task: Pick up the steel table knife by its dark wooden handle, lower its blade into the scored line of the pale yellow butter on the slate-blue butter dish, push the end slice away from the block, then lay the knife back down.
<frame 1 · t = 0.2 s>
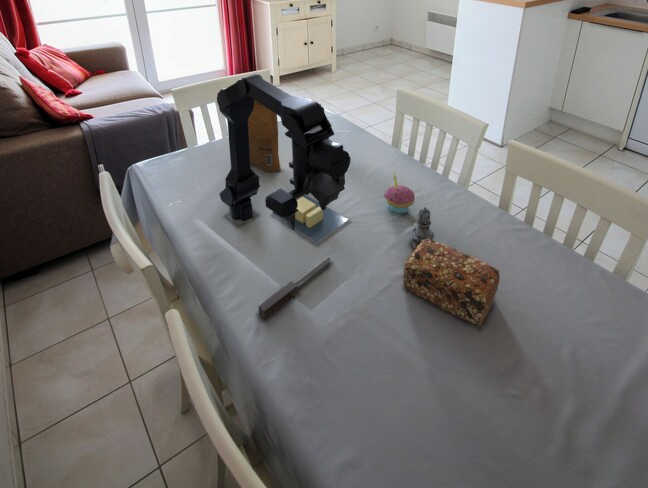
hand: (308, 219, 97), 14 cm above the table, tool pointing down, fingers open, 9 cm apart
bread: (448, 294, 96), on the table
butter dish: (309, 218, 119), on the table
grey figurine: (421, 246, 110), on the table
knife: (278, 304, 93), on the table
butter slice: (314, 222, 116), point 1 cm above the table, touching butter dish
cupcake: (398, 210, 124), on the table
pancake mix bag: (260, 165, 144), on the table
butter block: (299, 212, 120), resting on butter dish
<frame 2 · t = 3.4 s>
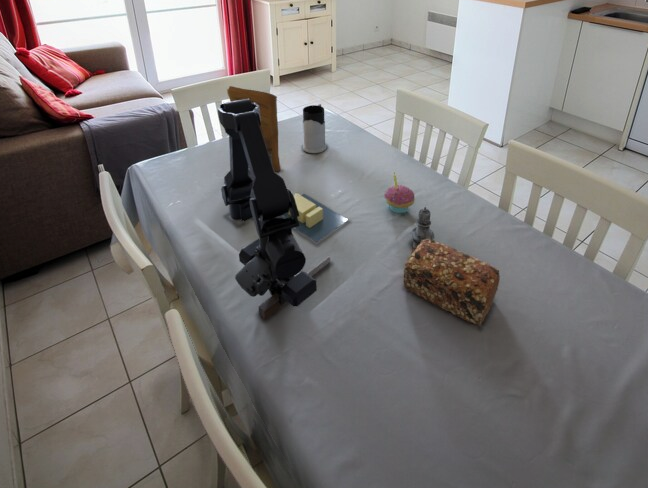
hand: (278, 299, 92), 1 cm above the table, tool pointing down, fingers closed on knife, 2 cm apart
knife: (278, 304, 93), on the table, touching gripper
everything else where it was.
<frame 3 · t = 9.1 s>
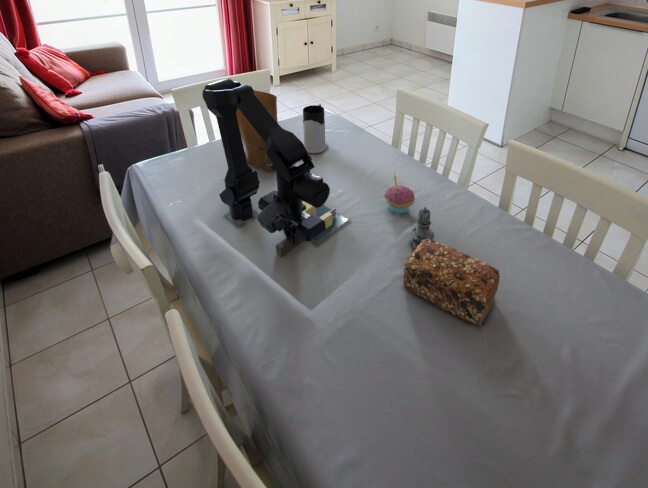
hand: (292, 241, 107), 2 cm above the table, tool pointing down, fingers closed on knife, 2 cm apart
knife: (292, 245, 108), point 1 cm above the table, touching butter slice, gripper
butter slice: (323, 227, 114), point 1 cm above the table, touching butter dish, knife
everything else where it was.
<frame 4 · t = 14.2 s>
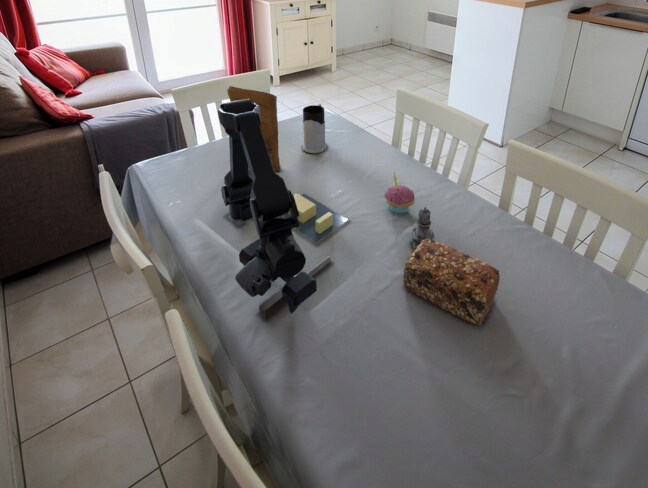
hand: (278, 300, 92), 1 cm above the table, tool pointing down, fingers open, 9 cm apart
knife: (279, 303, 93), on the table
butter slice: (324, 228, 114), point 1 cm above the table, touching butter dish
everything else where it was.
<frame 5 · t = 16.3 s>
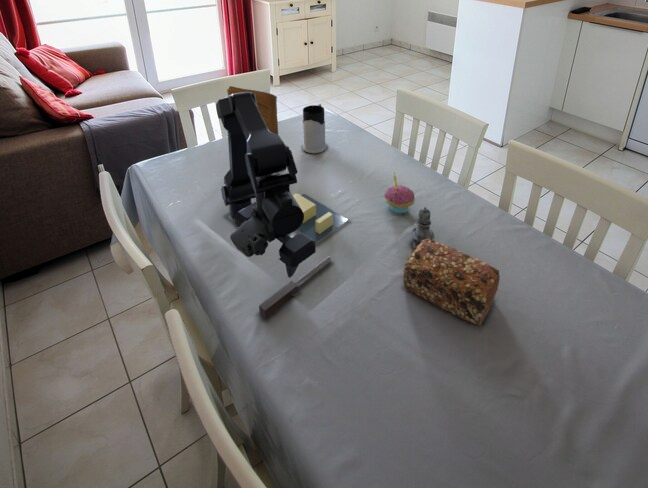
hand: (276, 264, 88), 11 cm above the table, tool pointing down, fingers open, 9 cm apart
nothing on the table moved.
at the end: butter slice 0.1 cm from the target spot on the table beside the butter block, resting on butter dish; butter slice tilted 0°; the gripper is holding nothing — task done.
